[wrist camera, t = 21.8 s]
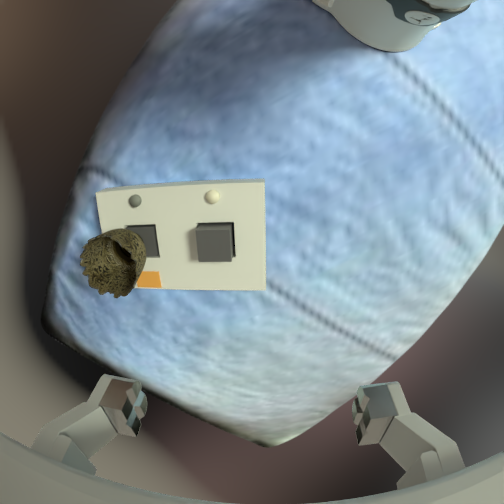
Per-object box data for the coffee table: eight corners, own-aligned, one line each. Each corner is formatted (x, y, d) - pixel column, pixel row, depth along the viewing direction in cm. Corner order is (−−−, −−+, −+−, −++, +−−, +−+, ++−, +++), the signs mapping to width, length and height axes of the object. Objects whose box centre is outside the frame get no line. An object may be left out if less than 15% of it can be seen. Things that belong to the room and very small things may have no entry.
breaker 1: (135, 220, 40) (125, 227, 37) (161, 219, 39) (153, 226, 36) (139, 247, 41) (130, 256, 38) (164, 247, 41) (157, 256, 38)
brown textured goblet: (162, 221, 36) (137, 245, 29) (157, 273, 39) (135, 305, 32) (110, 211, 36) (78, 231, 28) (109, 261, 39) (81, 289, 31)
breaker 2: (201, 222, 37) (195, 230, 34) (232, 221, 37) (229, 229, 34) (203, 251, 39) (198, 261, 36) (234, 251, 39) (231, 261, 36)
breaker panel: (106, 188, 38) (94, 193, 35) (264, 178, 37) (264, 183, 34) (122, 277, 43) (112, 288, 40) (266, 279, 42) (265, 291, 39)
